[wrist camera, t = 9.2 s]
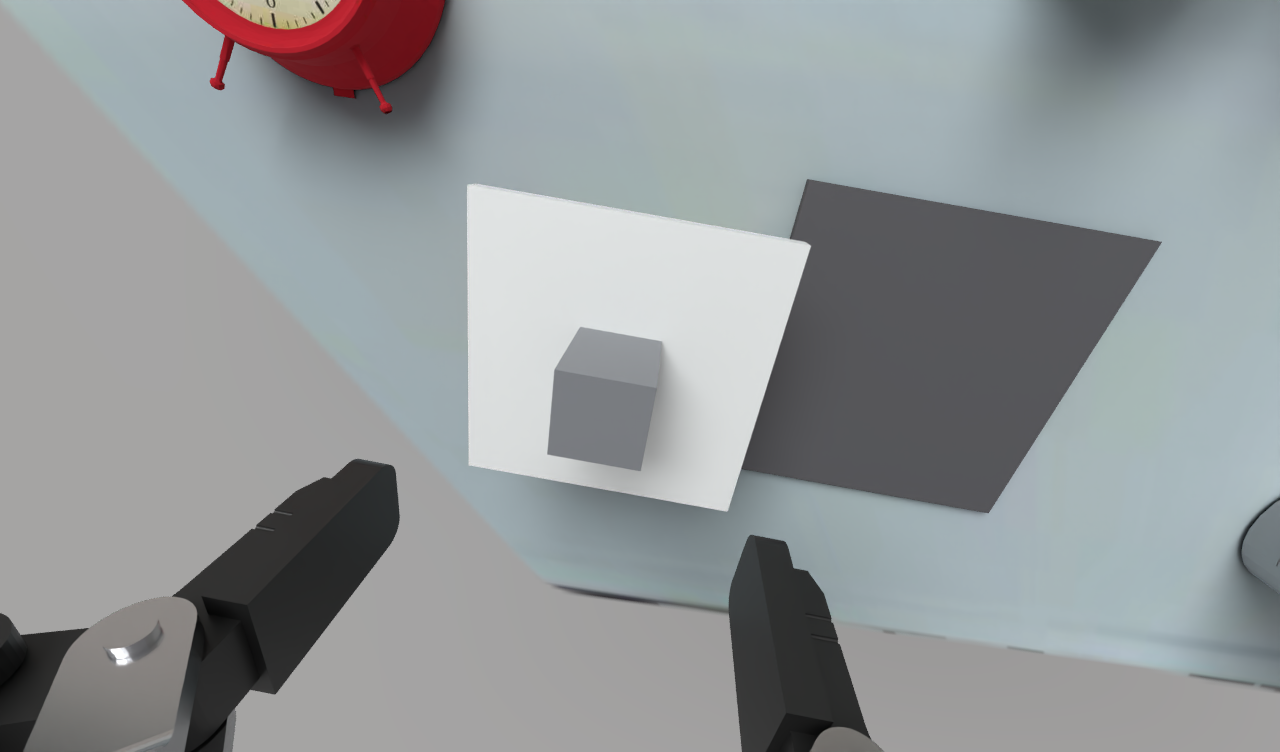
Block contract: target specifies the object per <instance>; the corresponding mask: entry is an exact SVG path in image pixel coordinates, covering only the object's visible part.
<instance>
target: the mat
mask: <svg viewBox="0 0 1280 752" xmlns="http://www.w3.org/2000/svg"><path fill="white" fill-rule="evenodd" d="M790 239H792V240H798V241H803V242H806V243H808V244H809V245H811V247H810V251H809V254H808V257H807V260H806V263H805V267H804V270H803V273H802V276H801V279H800V282H799V286H798V289H797V292H796V295H795V298H794V302H793V305H792V308H791V311H790V314H789V318H788V321H787V324H786V327H785V330H784V333H783V337H782V340H781V343H780V346H779V349H778V353H777V356H776V359H775V362H774V365H773V368H772V372H771V375H770V378H769V381H768V384H767V388H766V391H765V394H764V397H763V400H762V403H761V407H760V410H759V413H758V416H757V419H756V423H755V426H754V429H753V432H752V435H751V439H750V442H749V445H748V448H747V451H746V454H745V458H744V461H743V464H742V467H741V469H746V470H751V471H757V472H762V473H768V474H774V475H779V476H785V477H790V478H796V479H801V480H807V481H813V482H818V483H824V484H829V485H835V486H840V487H846V488H851V489H857V490H863V491H868V492H874V493H879V494H885V495H890V496H896V497H902V498H907V499H913V500H918V501H924V502H929V503H935V504H941V505H946V506H952V507H957V508H963V509H968V510H974V511H979V512H985V513H989V512H990V510H991V509H992V507H993V505H994V504H995V502H996V501H997V499H998V498H999V496H1000V494H1001V493H1002V491H1003V490H1004V488H1005V487H1006V485H1007V484H1008V482H1009V480H1010V479H1011V477H1012V476H1013V474H1014V473H1015V471H1016V469H1017V468H1018V466H1019V465H1020V463H1021V462H1022V460H1023V459H1024V457H1025V455H1026V454H1027V452H1028V451H1029V449H1030V448H1031V446H1032V444H1033V443H1034V441H1035V440H1036V438H1037V437H1038V435H1039V434H1040V432H1041V430H1042V429H1043V427H1044V426H1045V424H1046V423H1047V421H1048V419H1049V418H1050V416H1051V415H1052V413H1053V412H1054V410H1055V408H1056V407H1057V405H1058V404H1059V402H1060V401H1061V399H1062V398H1063V396H1064V394H1065V393H1066V391H1067V390H1068V388H1069V387H1070V385H1071V383H1072V382H1073V380H1074V379H1075V377H1076V376H1077V374H1078V373H1079V371H1080V369H1081V368H1082V366H1083V365H1084V363H1085V362H1086V360H1087V358H1088V357H1089V355H1090V354H1091V352H1092V351H1093V349H1094V348H1095V346H1096V344H1097V343H1098V341H1099V340H1100V338H1101V337H1102V335H1103V333H1104V332H1105V330H1106V329H1107V327H1108V326H1109V324H1110V323H1111V321H1112V319H1113V318H1114V316H1115V315H1116V313H1117V312H1118V310H1119V308H1120V307H1121V305H1122V304H1123V302H1124V301H1125V299H1126V297H1127V296H1128V294H1129V293H1130V291H1131V290H1132V288H1133V287H1134V285H1135V283H1136V282H1137V280H1138V279H1139V277H1140V276H1141V274H1142V272H1143V271H1144V269H1145V268H1146V266H1147V265H1148V263H1149V262H1150V260H1151V258H1152V257H1153V255H1154V254H1155V252H1156V251H1157V249H1158V247H1159V246H1160V244H1161V243H1162V242H1159V241H1153V240H1148V239H1142V238H1136V237H1131V236H1125V235H1119V234H1114V233H1108V232H1103V231H1097V230H1091V229H1086V228H1080V227H1074V226H1069V225H1063V224H1057V223H1052V222H1046V221H1040V220H1035V219H1029V218H1023V217H1018V216H1012V215H1006V214H1001V213H995V212H989V211H984V210H978V209H972V208H967V207H961V206H955V205H950V204H944V203H938V202H933V201H927V200H921V199H916V198H910V197H905V196H899V195H893V194H888V193H882V192H876V191H871V190H865V189H859V188H854V187H848V186H842V185H837V184H831V183H825V182H820V181H814V180H808V179H807V182H806V185H805V189H804V192H803V196H802V199H801V203H800V206H799V209H798V213H797V216H796V220H795V223H794V226H793V230H792V233H791V237H790Z"/></svg>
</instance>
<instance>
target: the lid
mask: <svg viewBox="0 0 1280 752" xmlns="http://www.w3.org/2000/svg"><path fill="white" fill-rule="evenodd" d="M810 247H811V245H809V244H808V243H806V242H803V241H798V240H792V239H786V238H781V237H775V236H769V235H764V234H758V233H752V232H747V231H741V230H735V229H730V228H724V227H718V226H713V225H707V224H701V223H696V222H690V221H684V220H679V219H673V218H667V217H662V216H656V215H651V214H645V213H639V212H634V211H628V210H622V209H617V208H611V207H605V206H600V205H594V204H588V203H583V202H577V201H571V200H566V199H560V198H554V197H549V196H543V195H537V194H532V193H526V192H520V191H515V190H509V189H503V188H498V187H492V186H486V185H481V184H470V185H467V251H468V415H469V465H471V466H476V467H482V468H487V469H493V470H498V471H504V472H510V473H515V474H521V475H526V476H532V477H537V478H543V479H549V480H554V481H560V482H565V483H571V484H576V485H582V486H587V487H593V488H599V489H604V490H610V491H615V492H621V493H626V494H632V495H638V496H643V497H649V498H654V499H660V500H665V501H671V502H677V503H682V504H688V505H693V506H699V507H704V508H710V509H715V510H721V511H727V512H728V509H729V505H730V502H731V499H732V496H733V493H734V489H735V486H736V483H737V480H738V477H739V474H740V470H741V467H742V464H743V461H744V458H745V454H746V451H747V448H748V445H749V442H750V439H751V435H752V432H753V429H754V426H755V423H756V419H757V416H758V413H759V410H760V407H761V403H762V400H763V397H764V394H765V391H766V388H767V384H768V381H769V378H770V375H771V372H772V368H773V365H774V362H775V359H776V356H777V353H778V349H779V346H780V343H781V340H782V337H783V333H784V330H785V327H786V324H787V321H788V318H789V314H790V311H791V308H792V305H793V302H794V298H795V295H796V292H797V289H798V286H799V282H800V279H801V276H802V273H803V270H804V267H805V263H806V260H807V257H808V254H809V251H810Z"/></svg>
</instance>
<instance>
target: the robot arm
mask: <svg viewBox="0 0 1280 752" xmlns="http://www.w3.org/2000/svg"><path fill="white" fill-rule="evenodd" d="M399 518H400V517H399V505H398V493H397V483H396V472H395V469H394V467H393V466H391V465H388V464H382V463H378V462H372V461H367V460H362V459H355V460H353V461H351V462H350V463H348V464H347V465H346V466H345V467H344V468H343V469H342V470H340V472H338V473H337V474H336V475H335V476H334V477H333V478H332V479H330V478H322V479H320V480H318V481H316V482H314V483H312V484H310V485H308V486H306V487H303V488H301V489H300V490H298V491H296V492H295V493H293V494H292V495H291V496H290V497H289V498H288V499H286V500H285V501H284V502H283V503H282V504H281V505H279V506H278V507H277V508H276V509H275V511H274V513H273V514H272V513H270V514H269V515H268V516H267V517H265V518H264V519H263V520H262V521H261V522H260V523H258V524H257V526H256V528H255V529H251V530H250V531H249V532H248V533H247V534H245V535H244V536H243V537H242V538H241V539H240V540H238V541H237V542H236V543H235V544H234V545H232V546H231V547H230V548H229V549H228V550H227V551H225V552H224V553H223V554H222V555H221V556H220V557H218V558H217V559H216V560H215V561H214V562H212V563H211V564H210V565H209V566H208V567H207V568H205V569H204V570H203V571H202V572H201V573H200V574H199V575H197V576H196V577H195V578H194V579H193V580H191V581H190V582H189V583H188V584H187V585H186V586H184V587H183V588H182V589H181V590H180V591H178V592H177V593H176V594H174V595H173V596H172V597H159V598H154V599H149V600H145V601H141V602H138V603H135V604H132V605H130V606H128V607H125V608H122V609H120V610H118V611H116V612H114V613H112V614H111V615H109V616H107V617H105V618H103V619H102V620H100V621H99V622H97V623H96V624H94V625H93V626H92V627H90V628H85V629H76V630H66V631H56V632H46V633H36V634H27V635H20V634H19V632H18V631H17V629H16V628H15V626H14V625H13V623H12V622H11V620H10V619H9V618H8V617H7V616H5V615H4V614H1V613H0V752H232V749H233V740H234V732H235V722H236V711H235V707H236V706H237V705H238V704H239V703H240V701H241V700H242V699H243V698H244V696H245V695H246V694H247V693H248V692H249V690H255V691H260V692H265V693H270V694H276V693H277V692H278V690H279V689H280V688H281V686H282V685H283V684H284V683H285V681H286V680H287V679H288V677H289V676H290V674H291V673H292V672H293V671H294V669H295V668H296V667H297V665H298V664H299V663H300V662H301V660H302V659H303V658H304V656H305V655H306V654H307V652H308V651H309V650H310V649H311V647H312V646H313V645H314V643H315V642H316V641H317V640H318V638H319V637H320V636H321V634H322V633H323V632H324V630H325V629H326V628H327V626H328V625H329V624H330V623H331V621H332V620H333V619H334V617H335V616H336V615H337V613H338V612H339V611H340V610H341V608H342V607H343V606H344V604H345V603H346V602H347V600H348V599H349V598H350V597H351V595H352V594H353V593H354V591H355V590H356V589H357V587H358V586H359V585H360V583H361V582H362V581H363V580H364V578H365V577H366V576H367V574H368V573H369V572H370V570H371V569H372V568H373V567H374V565H375V564H376V563H377V561H378V560H379V559H380V557H381V556H382V555H383V553H384V552H385V551H386V550H387V548H388V547H389V546H390V544H391V542H392V541H393V539H394V537H395V534H396V532H397V529H398V525H399ZM1241 553H1242V558H1243V563H1244V565H1245V566H1246V568H1247V569H1248V570H1249V572H1250V573H1252V574H1253V575H1254V576H1256V577H1257V578H1258V579H1260V580H1261V581H1263V582H1264V583H1265V584H1267V585H1268V586H1269V587H1271V588H1272V589H1273V590H1275V591H1276V592H1277V593H1279V594H1280V500H1279V501H1277V502H1276V503H1274V504H1273V505H1272V506H1271V507H1270V508H1269V509H1267V510H1266V511H1265V512H1264V513H1263V514H1262V515H1260V517H1259V518H1258V519H1257V520H1256V522H1255V523H1254V524H1253V525H1252V526H1251V528H1250V529H1249V531H1248V533H1247V535H1246V537H1245V539H1244V541H1243V546H1242V552H1241ZM729 618H730V628H731V640H732V649H733V661H734V672H735V682H736V692H737V704H738V714H739V724H740V734H741V735H740V736H741V746H742V752H884V751H883V750H882V749H881V748H880V747H879V746H878V745H877V744H876V743H875V742H873V741H872V740H871V738H870V736H869V734H868V731H867V728H866V726H865V723H864V720H863V716H862V713H861V710H860V707H859V704H858V700H857V697H856V694H855V691H854V688H853V685H852V681H851V678H850V675H849V672H848V669H847V666H846V663H845V659H844V657H843V653H842V650H841V647H840V644H838V637H837V634H836V631H835V628H834V624H833V623H831V615H830V612H829V609H828V606H827V602H826V599H825V596H824V593H823V592H822V591H821V589H820V588H819V586H818V585H817V584H816V582H815V581H814V579H813V578H812V577H811V575H810V574H809V572H808V571H804V570H799V569H794V568H793V564H792V561H791V557H790V553H789V549H788V546H787V544H786V542H784V541H781V540H775V539H770V538H765V537H760V536H754V535H750V536H749V537H748V539H747V541H746V544H745V547H744V549H743V552H742V555H741V558H740V561H739V563H738V566H737V569H736V572H735V575H734V577H733V580H732V584H731V588H730V595H729Z"/></svg>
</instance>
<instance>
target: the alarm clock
mask: <svg viewBox="0 0 1280 752" xmlns="http://www.w3.org/2000/svg"><path fill="white" fill-rule="evenodd" d="M182 1H183V2H184V3H186V4H187V5H188V6H189V7H190V8H191V9H192V10H193V11H194V12H195V13H196V14H197V15H198V16H199V17H201V18H202V19H203V20H205V21H206V22H207V23H208V24H210V25H211V26H212V27H213V28H215V29H216V30H218V31H220V32H221V33H222V34H224V35H225V38H224V42H223V46H222V50H221V54H220V61H219V65H218V69H217V73H216V77H215V78H211V79H210V84H211V86H212V87H214V88H215V89H217V90H223V89H224V87H225V84H224V83H223V82H222V79H223V76H224V73H225V70H226V66H227V63H228V62H229V60H230V57H231V53H232V50H233V46H234V43H235V42H236V43H238V44H240V45H242V46H244V47H246V48H248V49H250V50H252V51H255V52H257V53H260V54H262V55H265V56H269V57H271V58H272V59H274V60H275V61H276V62H277V63H279V64H280V65H282V66H283V67H285V68H286V69H288V70H289V71H291V72H293V73H295V74H297V75H298V76H300V77H303V78H305V79H307V80H309V81H312V82H315V83H318V84H321V85H325V86H329V87H333V90H334V95H335V96H342V97H349V98H355V97H354V90H362V89H369V88H373V90H374V92H375V94H376V96H377V97H378V99H379V101H380V103H381V105H380V109H381V111H382V112H383V113H385V114H388V113H390V112H392V106H391V104H390V103H387V102H386V101H385V99H384V97H383V95H382V93H381V91H380V89H379V87H378V86H381V85H384V84H386V83H388V82H390V81H392V80H394V79H396V78H398V77H399V76H401V75H402V74H403V73H405V72H406V71H407V70H409V69H410V68H411V67H412V66H413V65H414V64H415V63H416V62H417V61H418V60H419V59H420V57H421V56H422V55H423V53H424V52H425V50H426V49H427V47H428V46H429V44H430V42H431V40H432V38H433V36H434V34H435V31H436V29H437V27H438V24H439V21H440V18H441V15H442V12H443V7H444V3H445V0H182Z"/></svg>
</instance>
